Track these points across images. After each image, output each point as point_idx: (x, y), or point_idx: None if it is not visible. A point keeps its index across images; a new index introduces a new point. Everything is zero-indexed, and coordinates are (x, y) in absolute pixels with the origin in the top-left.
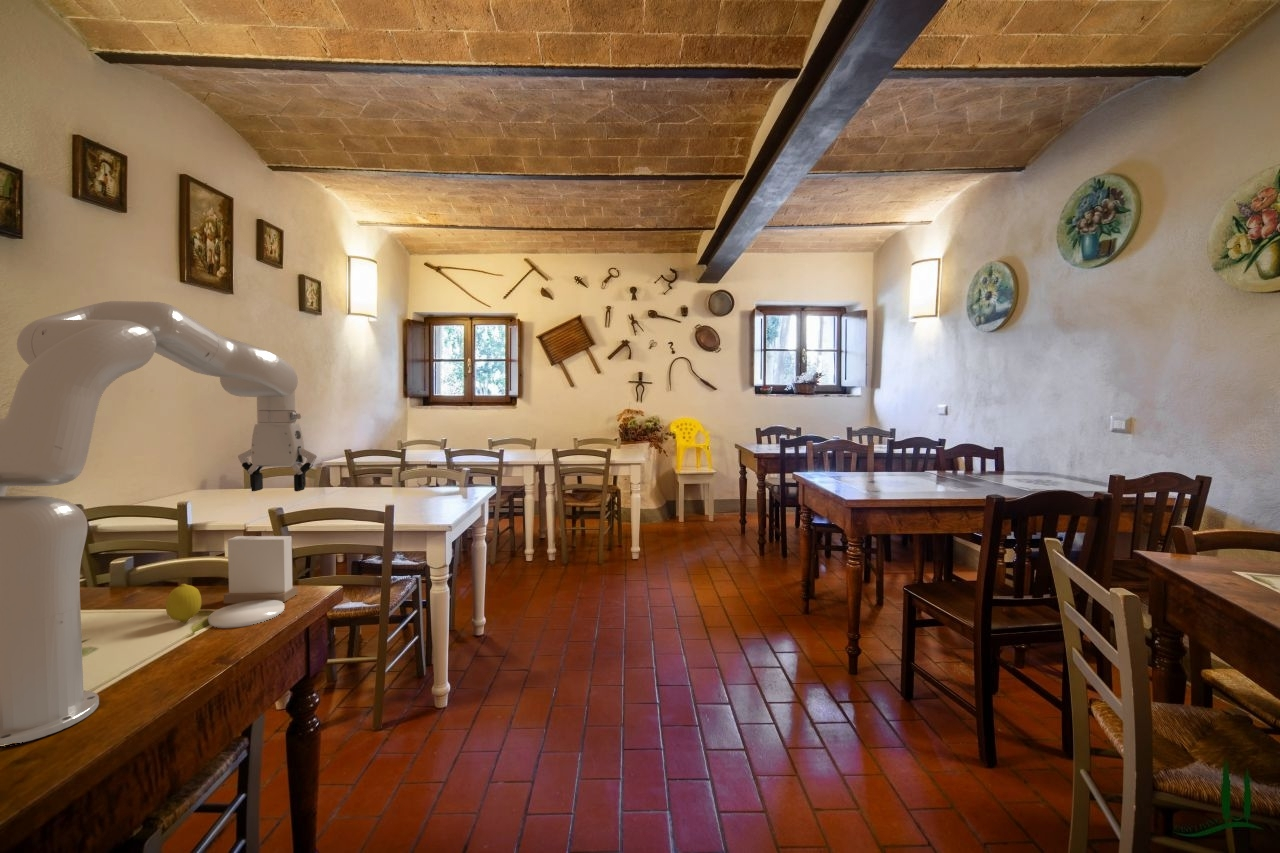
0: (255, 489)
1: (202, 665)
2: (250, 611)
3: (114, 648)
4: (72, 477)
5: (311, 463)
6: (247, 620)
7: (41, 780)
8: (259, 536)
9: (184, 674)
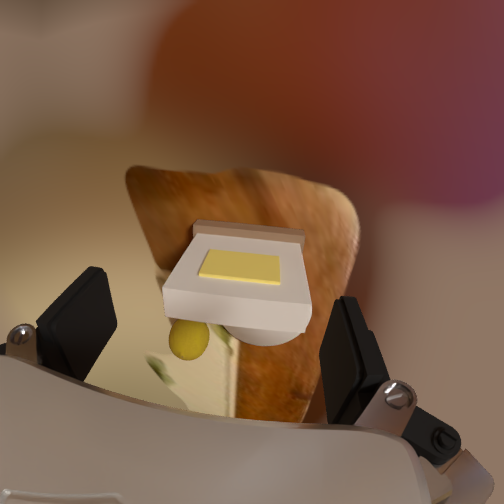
0: (114, 326)
1: (285, 400)
2: None
3: (177, 364)
4: None
5: (448, 463)
6: (282, 342)
7: None
8: (223, 298)
9: (279, 408)
